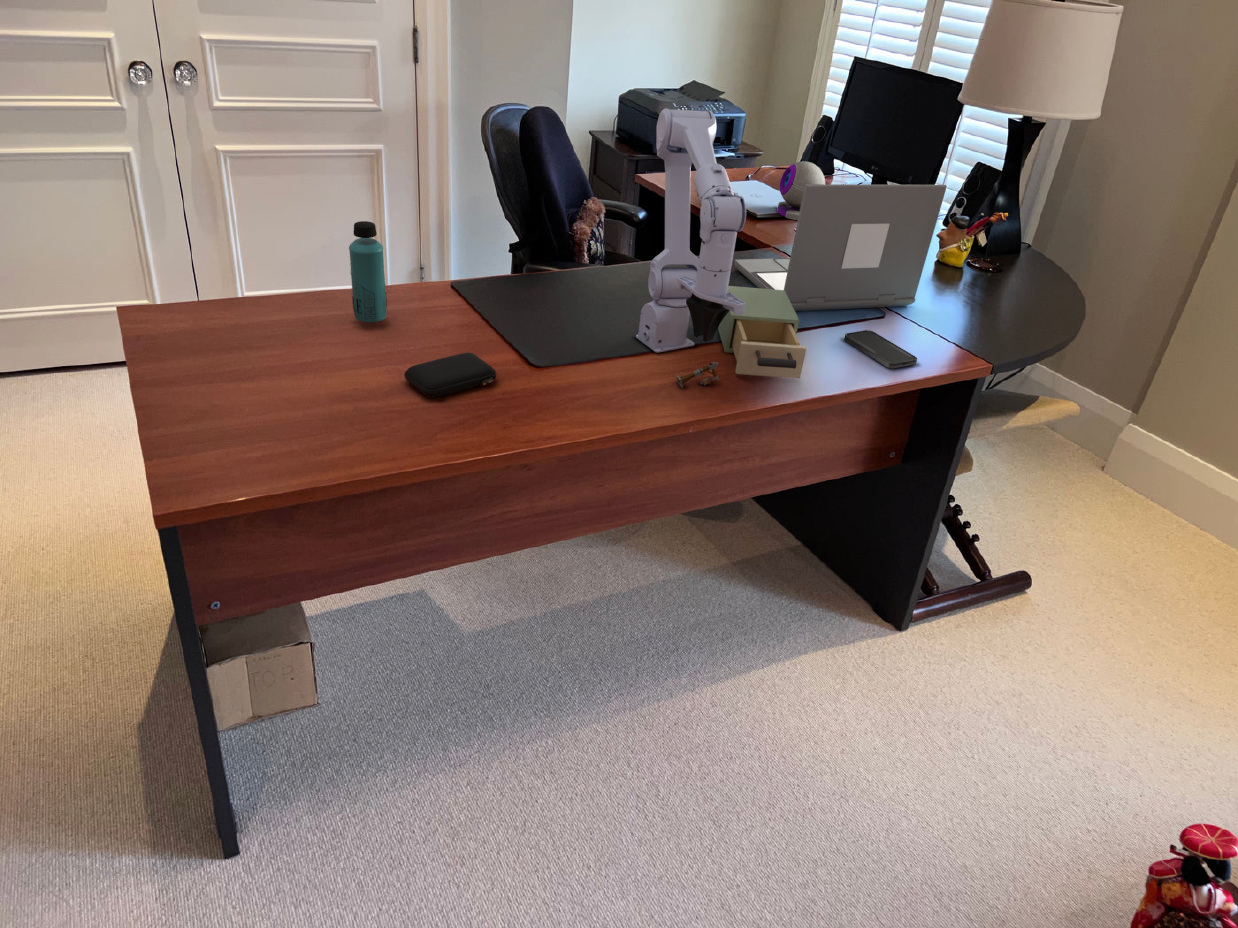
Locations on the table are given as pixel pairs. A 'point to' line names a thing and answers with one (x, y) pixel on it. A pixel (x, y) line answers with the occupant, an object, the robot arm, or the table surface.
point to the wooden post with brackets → (698, 372)
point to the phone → (880, 349)
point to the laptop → (854, 247)
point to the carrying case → (450, 374)
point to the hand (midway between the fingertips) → (703, 338)
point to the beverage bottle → (367, 274)
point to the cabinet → (758, 310)
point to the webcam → (797, 186)
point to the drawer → (767, 349)
